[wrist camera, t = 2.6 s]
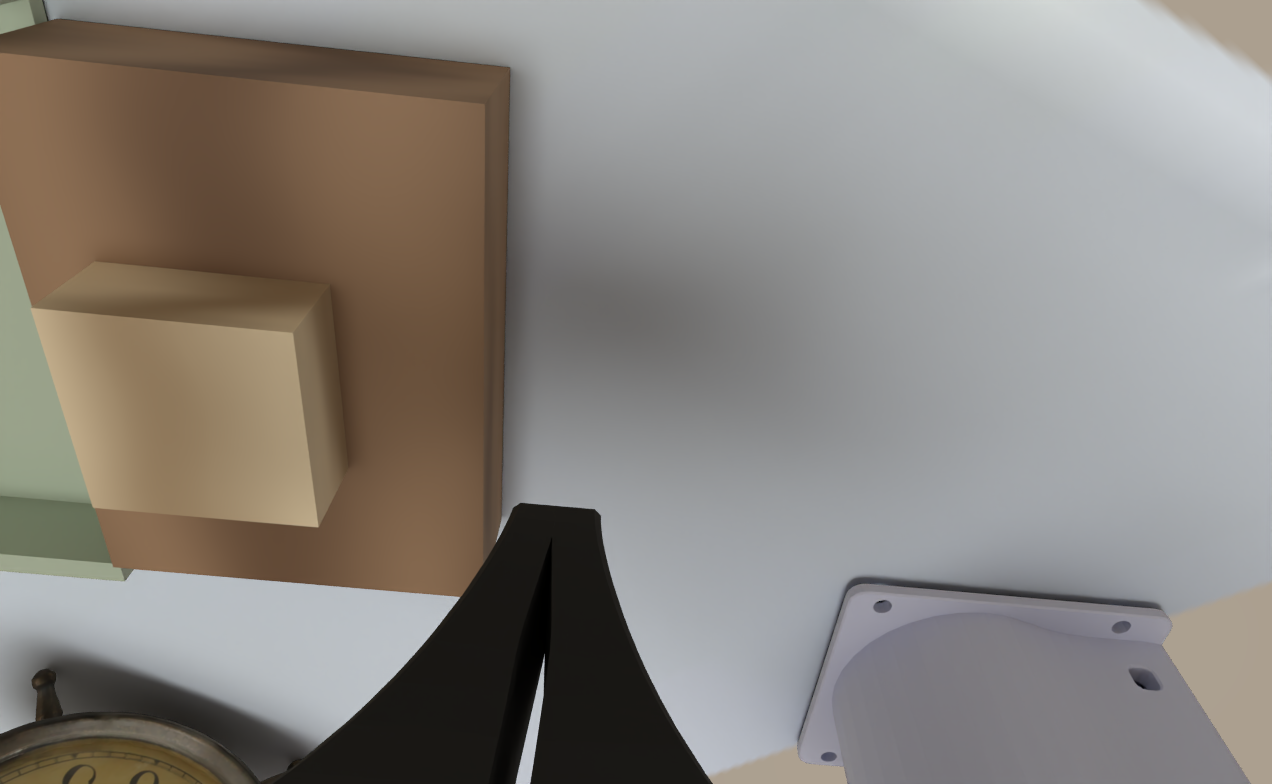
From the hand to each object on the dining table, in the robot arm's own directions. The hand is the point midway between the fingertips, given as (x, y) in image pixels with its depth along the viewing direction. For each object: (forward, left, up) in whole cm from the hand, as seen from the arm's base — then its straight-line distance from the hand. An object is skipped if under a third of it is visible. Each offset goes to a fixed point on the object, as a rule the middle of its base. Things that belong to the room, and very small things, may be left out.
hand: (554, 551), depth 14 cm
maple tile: (+7, 0, -5) cm, 9 cm away
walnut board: (+6, 0, -8) cm, 10 cm away
